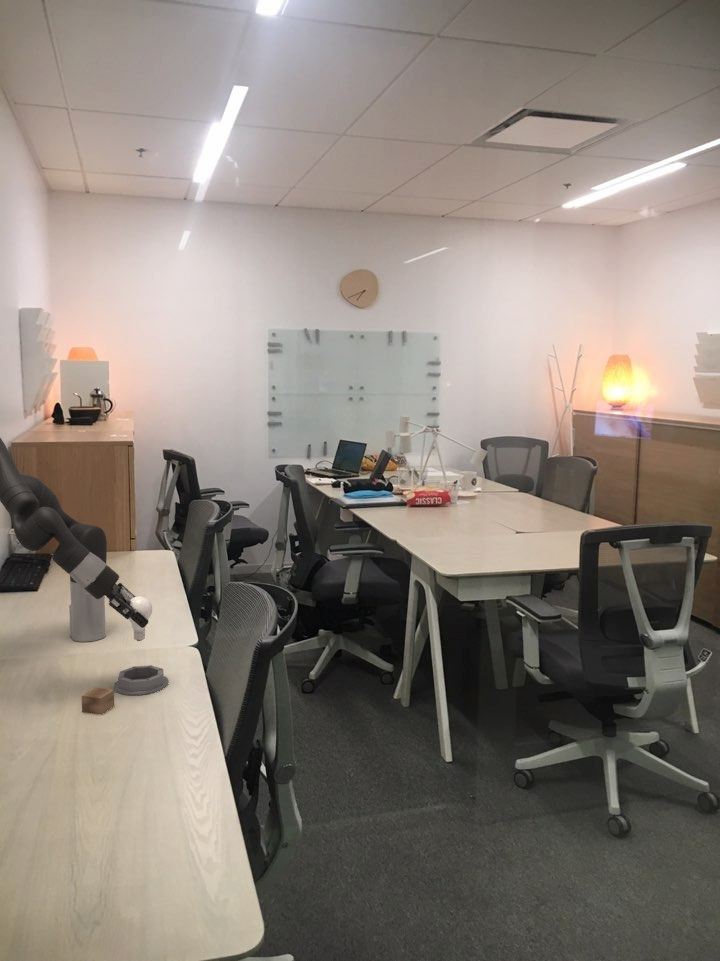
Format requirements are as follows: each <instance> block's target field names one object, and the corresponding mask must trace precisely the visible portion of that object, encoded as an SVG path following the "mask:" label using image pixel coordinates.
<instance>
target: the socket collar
mask: <svg viewBox="0 0 720 961" xmlns="http://www.w3.org/2000/svg"><path fill="white" fill-rule="evenodd" d="M164 675H165V674H164V668H162V667H158V666H155V665H152V664H151V665H137V666H135V665H134V666H131V667H128V668H126V669H124V670H121V671H119V673H118V677H117V680H116V681H115V682H114V684H113V690H114V692H116V693H118V694H120V695H122V696H133V697H135V696H138V697H140V696H147V695H152V694H155V692H156V693H158V692H157V691H159V692H161V691H163V690H164V689H163V688H165V687H166V686H167V685H168V686H169V684H168V683H170V681H169V678H168V677H167V676H164ZM168 686H167V687H168ZM167 687H166V688H167ZM166 688H165V689H166ZM162 689H163V690H162ZM160 690H161V691H160ZM151 693H152V694H151Z"/></svg>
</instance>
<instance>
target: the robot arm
mask: <svg viewBox="0 0 720 961" xmlns="http://www.w3.org/2000/svg"><path fill="white" fill-rule="evenodd" d="M0 503H1V504H2V505H3V507H4V508H5V510H6V512H8V514H9V517H10V520H11V524H12V527H13V531H14V534H15V535H14V536H15V538H16V540H17V541H18V543H19V544H20V545H21V546H22V548H24V549H25V550H29V551H30V552H31V551H32V552H38V551H40V550H41V549H43V548H44V547H46V545H47V544H48V543H49V542H51V540H52V539H55V540H56V542H57V543H58V546H57V547H56V548H55V550H54V552H53V553H52V555H51V559H52V561H53V562H54V563H55V564H56V565H57V566H58V567H60V568H61V569H62V570H63V571H65V573H67V574H68V575H69V584H70V585H69V586H70V587H69V588H70V589H69V590H70V604H69V605H68V606H69V611H68V612H69V631H70V632H69V634H70V637H71V638H72V640H73V641H75V642H81V643H84V642H85V643H86V642H95V641H99V640H102V639H103V638H105V637H106V633H107V632H106V605H105V602H106V600H105V598H107V599H108V605H109V607H111V608H112V609H114V610H115V611H116V612H117V613H118V614H120V615H121V617H123V618H125V619H126V620H129V619H132V620H133V621H134V622H135V623H137V624H138V625H139V626H140V627H141V628H144V627H145V626H146V627H147V625H148V624H149V619H146V618H145V617H144V616H143V615H142V614H141V613H139V612H138V611H137V609H135V608H134V606H133V605H132V604H133V602H132V601H131V600H130V599H132V598H134V597H137V596H136V595H135V594H133V593H132V592H131V590H129V589H128V588H127V587H125V586H124V584H123V583H121V582H119V583H118V584H117V582H118V581H119V579H120V575H119V574H118V573H117V571H115V570H114V569H112V568H111V567H110V566H109V565H108V564H107V556H108V555H107V552H108V551H107V548H108V544H107V535H106V533H105V531H104V530H103V528H102V527H100V526H97V525H92V524H88V523H87V524H85V523H81V522H80V521H77V520H76V519H74V518H73V517H71V516H70V515H69V514H67V512H65V511H64V510H63V508H62V506H61V504H60V501H59V500H58V497H57V496H56V494H55V493H54V491H52V490H51V488H49V487H48V486H47V485H46V484H44V482H43V481H42V480H40V479H39V478H37V477H35V476H32V475H28V474H22V473H20V472H19V470H18V467H17V465H16V464H15V461H14V459H13V457H12V455H11V454H10V452H9V450H8V448H7V446H6V444H5V442H4V440H2V438H1V437H0ZM105 596H106V597H105ZM127 609H128V610H129V611H128V612H127V611H126V610H127ZM146 627H145V628H146Z"/></svg>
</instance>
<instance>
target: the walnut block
mask: <svg viewBox="0 0 720 961" xmlns="http://www.w3.org/2000/svg"><path fill="white" fill-rule="evenodd" d="M113 706H114V707H115V690H114V689H109V688H101V687H94V688H92V689H90V690H88V691H87V692H85V693H84V694H82V695H81V713H84V714H91V713H92V714H93V715H98V714H101V715H100V716H102V715H103V713H104V714H105V713H107V712H108V711H110V710H111V709H112V708H114V707H113ZM111 707H112V708H111ZM110 708H111V709H110ZM107 710H108V711H107ZM106 711H107V712H106ZM92 714H91V715H92Z"/></svg>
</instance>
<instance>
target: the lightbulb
mask: <svg viewBox="0 0 720 961" xmlns="http://www.w3.org/2000/svg"><path fill="white" fill-rule="evenodd" d="M130 600H131V601H132V602H133V604H132V605H133V606H134V608H135V609H137V611H138V612H139V613H141V614H142V615H143V616H144V617H145V618H146V619H148V620H149V619H150V618H151V616H152V614H153V604H152V602H151V600H150V599H149V598H147V597H146V596H140V595H139V596H138V595H137V596H136V597H134V598H132V599H130ZM126 611H127V612H128V611H129V610H128V609H127V610H126ZM128 620H129V622H130V623H131V627H132V629H133V640H135V641H137V642H141V641H143V640H144V639H146V628H147V625H146V626H145V627H144V628H141V627H140V626H139V625H138V624H137V623H135V622H134V621H133V620H132V619H128Z"/></svg>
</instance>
